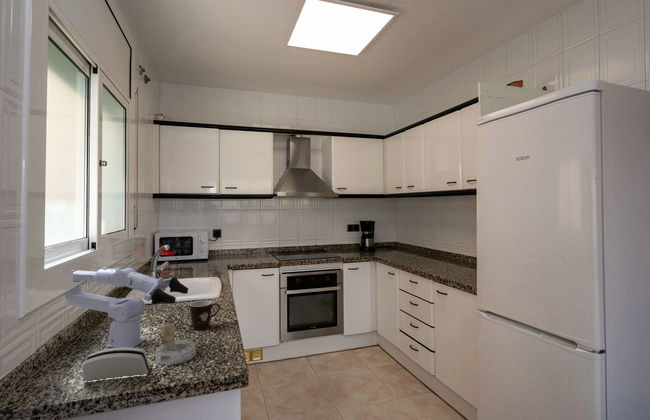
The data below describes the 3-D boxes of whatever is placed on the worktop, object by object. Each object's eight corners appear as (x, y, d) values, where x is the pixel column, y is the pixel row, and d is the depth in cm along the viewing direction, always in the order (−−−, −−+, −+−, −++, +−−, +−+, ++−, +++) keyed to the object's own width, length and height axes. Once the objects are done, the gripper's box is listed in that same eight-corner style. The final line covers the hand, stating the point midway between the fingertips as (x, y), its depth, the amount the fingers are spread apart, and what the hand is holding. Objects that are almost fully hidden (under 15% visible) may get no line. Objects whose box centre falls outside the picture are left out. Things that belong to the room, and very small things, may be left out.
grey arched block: (152, 367, 101) (148, 341, 97) (148, 380, 96) (144, 353, 93) (90, 374, 97) (84, 347, 93) (83, 388, 92) (76, 360, 89)
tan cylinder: (159, 347, 116) (159, 327, 116) (166, 342, 120) (166, 323, 120) (170, 347, 115) (170, 327, 115) (176, 343, 119) (176, 323, 119)
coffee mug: (188, 332, 129) (188, 307, 129) (191, 325, 137) (191, 301, 137) (219, 329, 132) (219, 304, 132) (220, 322, 140) (220, 299, 140)
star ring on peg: (147, 364, 103) (147, 354, 103) (169, 348, 115) (169, 339, 115) (183, 366, 102) (183, 356, 101) (202, 349, 113) (202, 340, 113)
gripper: (133, 283, 110) (170, 295, 109) (161, 267, 124) (194, 277, 123) (131, 301, 112) (167, 313, 111) (159, 283, 126) (191, 294, 125)
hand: (181, 295), depth 117 cm, fingers open, 7 cm apart
